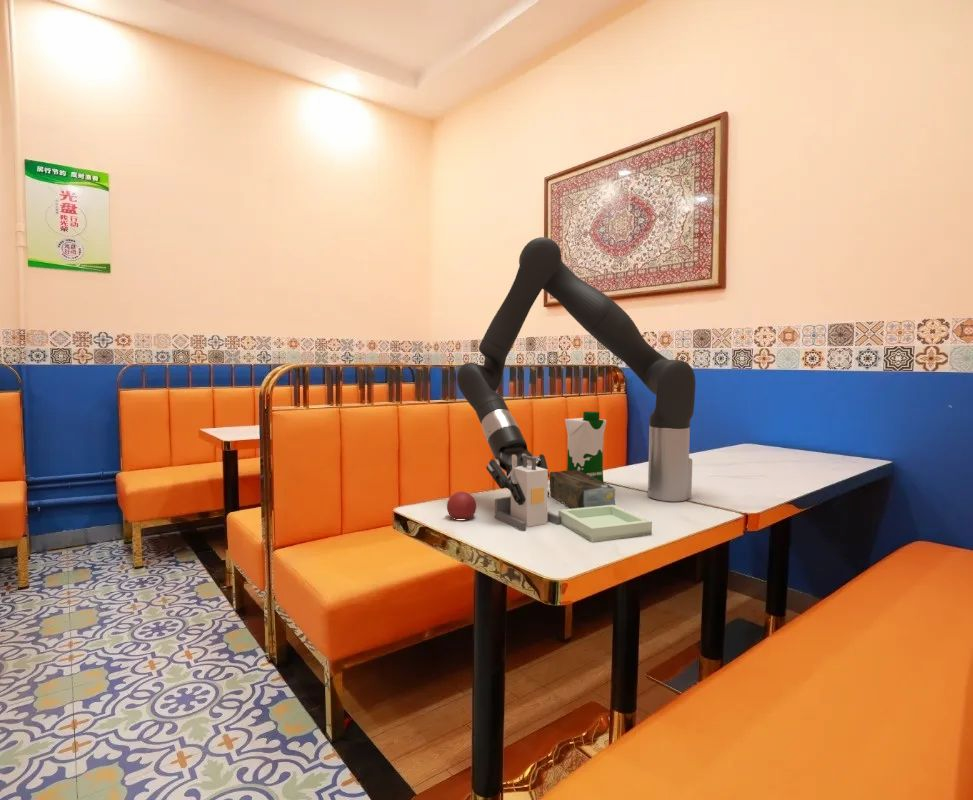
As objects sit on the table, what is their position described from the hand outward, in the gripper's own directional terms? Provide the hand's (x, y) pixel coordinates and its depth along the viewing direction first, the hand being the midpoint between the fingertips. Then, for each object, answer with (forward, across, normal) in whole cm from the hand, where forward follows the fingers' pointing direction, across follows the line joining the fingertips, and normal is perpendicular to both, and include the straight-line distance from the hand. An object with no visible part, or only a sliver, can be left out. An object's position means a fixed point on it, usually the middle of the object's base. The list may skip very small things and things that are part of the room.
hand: (534, 500), depth 108 cm
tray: (+10, +10, -3) cm, 14 cm away
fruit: (-4, -11, +10) cm, 15 cm away
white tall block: (+2, 0, +5) cm, 5 cm away
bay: (+2, 0, +5) cm, 5 cm away
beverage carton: (-2, +18, +9) cm, 20 cm away
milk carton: (-10, +30, +17) cm, 36 cm away
